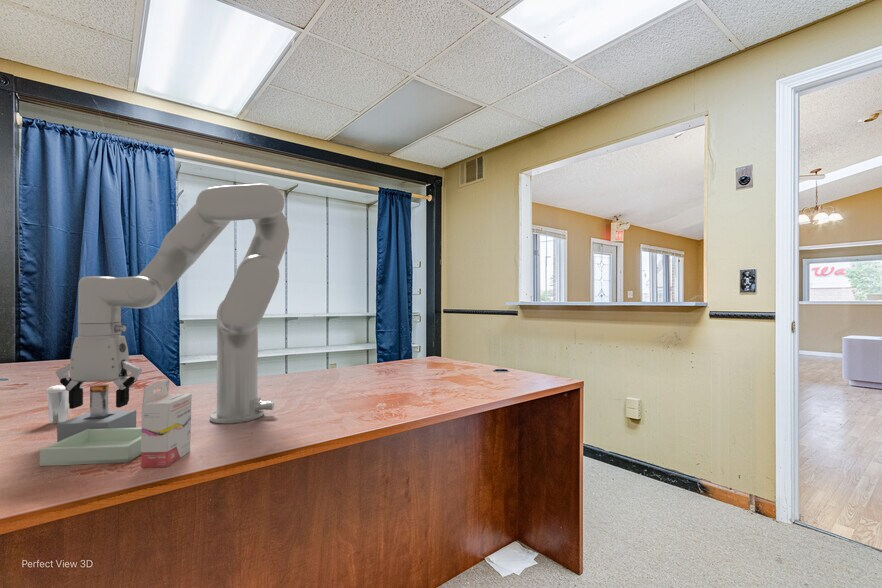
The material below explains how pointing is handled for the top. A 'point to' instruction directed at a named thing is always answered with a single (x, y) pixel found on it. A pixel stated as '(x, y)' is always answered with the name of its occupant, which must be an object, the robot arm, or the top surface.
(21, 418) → the top surface
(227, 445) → the top surface
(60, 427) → the socket block
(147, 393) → the ink cartridge box
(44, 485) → the top surface
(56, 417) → the milkshake
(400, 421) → the top surface
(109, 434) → the tray
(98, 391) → the pin
